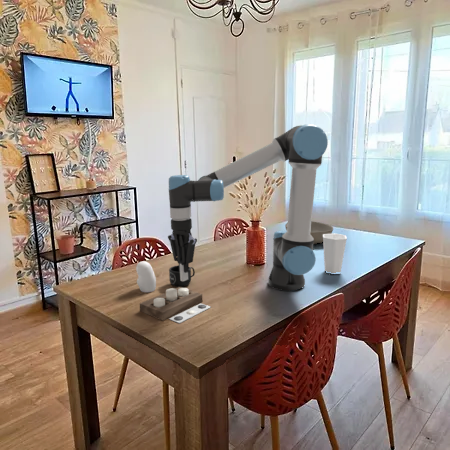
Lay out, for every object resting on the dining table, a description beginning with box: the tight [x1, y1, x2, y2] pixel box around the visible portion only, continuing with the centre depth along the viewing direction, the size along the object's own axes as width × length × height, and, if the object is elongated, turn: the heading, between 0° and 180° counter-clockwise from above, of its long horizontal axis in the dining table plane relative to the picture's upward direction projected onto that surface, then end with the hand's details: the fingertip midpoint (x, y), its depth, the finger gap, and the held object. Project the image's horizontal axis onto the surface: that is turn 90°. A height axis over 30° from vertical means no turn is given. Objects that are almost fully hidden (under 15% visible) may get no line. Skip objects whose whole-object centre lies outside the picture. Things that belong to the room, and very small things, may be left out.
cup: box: [322, 232, 348, 273], centre depth 177 cm, size 11×10×17 cm
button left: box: [154, 298, 165, 308], centre depth 139 cm, size 4×4×4 cm
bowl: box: [284, 220, 334, 245], centre depth 231 cm, size 28×28×10 cm
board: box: [139, 287, 203, 321], centre depth 143 cm, size 12×20×3 cm, turn 141°
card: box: [168, 302, 212, 324], centre depth 138 cm, size 5×16×1 cm, turn 141°
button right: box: [178, 287, 190, 297], centre depth 148 cm, size 4×4×4 cm
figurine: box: [135, 260, 157, 293], centre depth 158 cm, size 7×8×12 cm
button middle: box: [165, 287, 177, 302], centre depth 143 cm, size 4×4×4 cm
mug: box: [168, 264, 196, 288], centre depth 165 cm, size 12×9×7 cm
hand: (184, 279), depth 146 cm, fingers closed
